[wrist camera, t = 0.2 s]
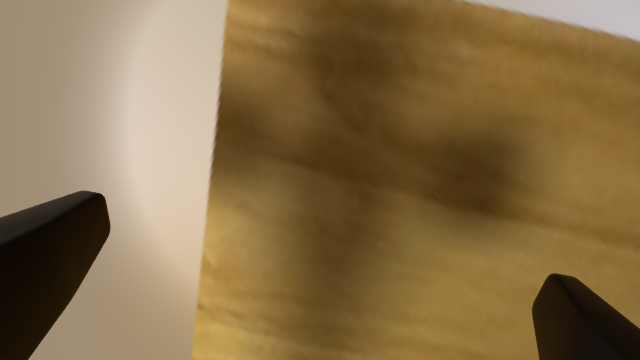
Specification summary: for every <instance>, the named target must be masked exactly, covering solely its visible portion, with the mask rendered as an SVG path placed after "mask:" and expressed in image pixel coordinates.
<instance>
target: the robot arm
mask: <svg viewBox="0 0 640 360" xmlns="http://www.w3.org/2000/svg"><path fill="white" fill-rule="evenodd" d="M109 233H110V220H109V215H108V210H107V204H106V200H105V197H104V196H103V195H102V194H100V193H95V192H90V191H79V192H76V193H73V194H70V195H67V196H64V197H61V198H58V199H55V200H52V201H49V202H46V203H43V204H40V205H37V206H34V207H31V208H28V209H25V210H22V211H19V212H16V213H13V214H10V215H7V216H4V217H1V218H0V360H28V359H29V358H30V356H31V355H32V353H33V352H34V351H35V349H36V348H37V347H38V345H39V344H40V343H41V341H42V340H43V338H44V337H45V336H46V334H47V333H48V332H49V330H50V329H51V327H52V326H53V325H54V323H55V322H56V321H57V319H58V318H59V316H60V315H61V314H62V312H63V311H64V310H65V308H66V306H67V305H68V304H69V302H70V301H71V299H72V298H73V296H74V295H75V293H76V291H77V290H78V288H79V286H80V285H81V283H82V281H83V280H84V278H85V276H86V274H87V273H88V271H89V269H90V267H91V265H92V264H93V262H94V261H95V259H96V257H97V255H98V254H99V252H100V250H101V248H102V247H103V245H104V243H105V242H106V240H107V238H108V236H109ZM532 316H533V323H534V329H535V335H536V341H537V347H538V354H539V360H640V329H639V328H638V327H637V326H635V325H634V324H633V323H632V322H630V321H629V320H628V319H627V318H625V317H624V316H623V315H622V314H620V313H619V312H618V311H617V310H615V309H614V308H613V307H612V306H610V305H609V304H608V303H607V302H605V301H604V300H603V299H602V298H600V297H599V296H598V295H597V294H595V293H594V292H593V291H592V290H590V289H589V288H588V287H587V286H585V285H584V284H583V283H582V282H580V281H579V280H578V279H577V278H575V277H572V276H567V275H562V274H556V273H554V274H551V275H549V276H548V277H547V279H546V280H545V282H544V284H543V286H542V288H541V290H540V291H539V293H538V295H537V297H536V299H535V301H534V303H533V307H532Z"/></svg>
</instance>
